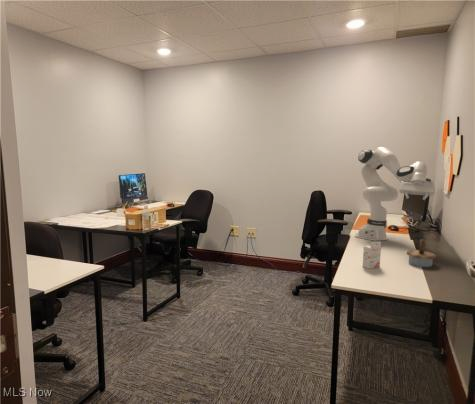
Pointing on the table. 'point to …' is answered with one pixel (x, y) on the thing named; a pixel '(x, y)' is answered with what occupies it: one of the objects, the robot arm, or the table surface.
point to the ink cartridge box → (372, 255)
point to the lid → (421, 252)
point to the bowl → (420, 261)
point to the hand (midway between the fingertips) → (415, 198)
